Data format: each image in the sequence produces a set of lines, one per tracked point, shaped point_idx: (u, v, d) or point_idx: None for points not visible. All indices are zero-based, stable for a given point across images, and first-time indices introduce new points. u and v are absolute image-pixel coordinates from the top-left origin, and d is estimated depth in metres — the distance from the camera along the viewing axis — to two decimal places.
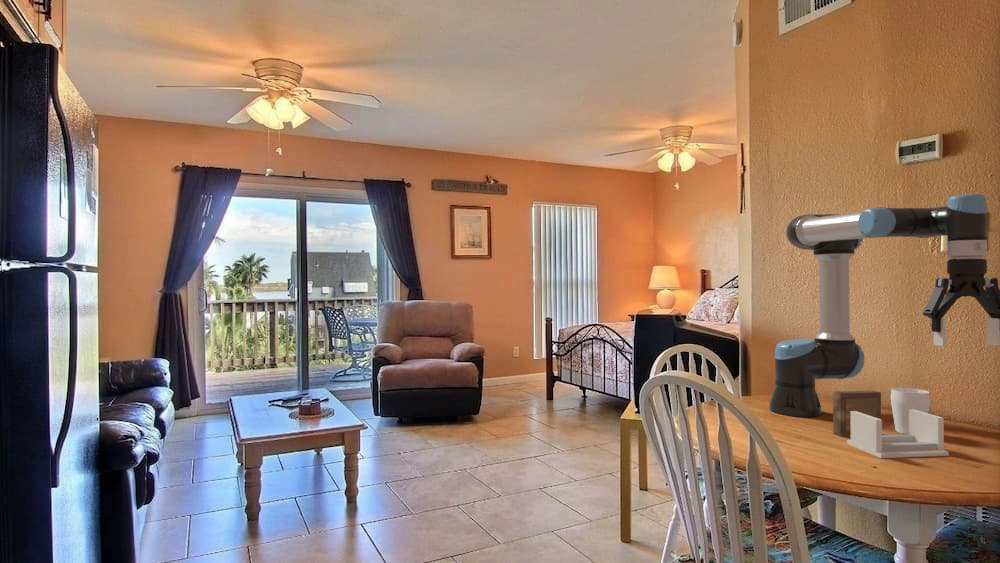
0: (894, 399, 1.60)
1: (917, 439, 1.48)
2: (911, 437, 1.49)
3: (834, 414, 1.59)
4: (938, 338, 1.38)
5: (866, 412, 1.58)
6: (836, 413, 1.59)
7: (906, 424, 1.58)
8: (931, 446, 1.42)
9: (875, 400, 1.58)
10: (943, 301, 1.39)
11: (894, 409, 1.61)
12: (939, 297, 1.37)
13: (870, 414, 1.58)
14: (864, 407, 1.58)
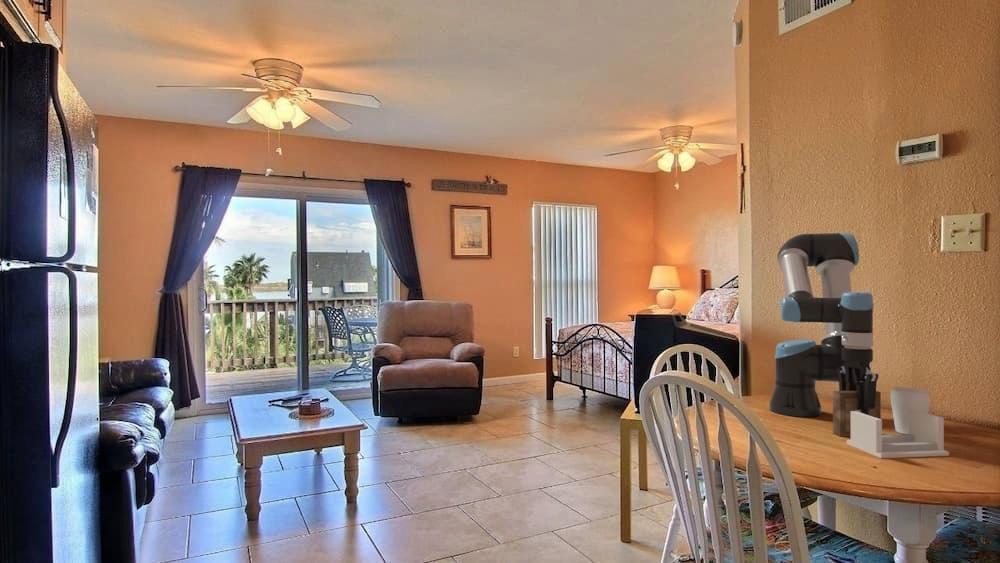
0: (894, 399, 1.60)
1: (917, 439, 1.48)
2: (911, 437, 1.49)
3: (834, 414, 1.60)
4: None
5: None
6: (836, 413, 1.59)
7: (906, 424, 1.58)
8: (931, 446, 1.42)
9: (875, 400, 1.58)
10: None
11: (894, 409, 1.61)
12: (839, 384, 1.64)
13: (870, 414, 1.58)
14: None
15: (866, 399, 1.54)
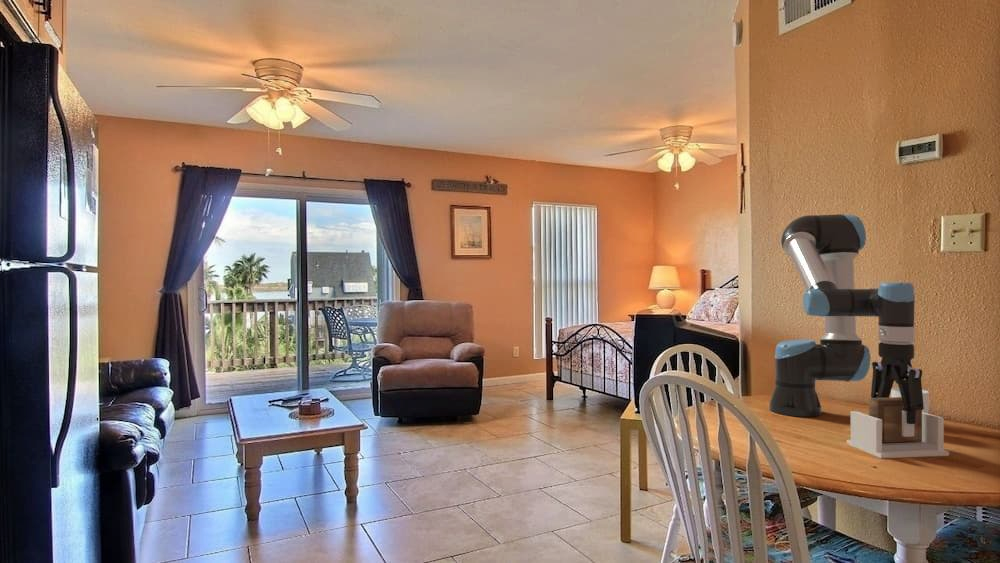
0: None
1: None
2: None
3: None
4: None
5: None
6: None
7: None
8: (931, 446, 1.42)
9: None
10: None
11: None
12: (873, 380, 1.51)
13: None
14: None
15: (912, 398, 1.38)
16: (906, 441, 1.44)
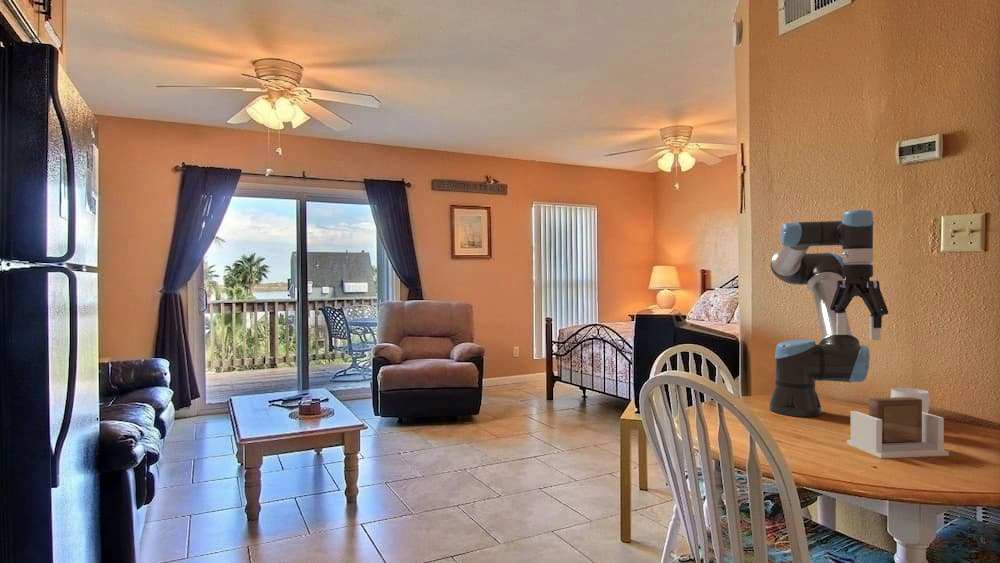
0: None
1: None
2: None
3: None
4: None
5: (906, 421, 1.44)
6: None
7: None
8: (931, 446, 1.42)
9: (916, 408, 1.44)
10: None
11: None
12: (835, 295, 1.72)
13: (910, 423, 1.44)
14: (904, 415, 1.44)
15: (876, 304, 1.55)
16: (906, 441, 1.44)
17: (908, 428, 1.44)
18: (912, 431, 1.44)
